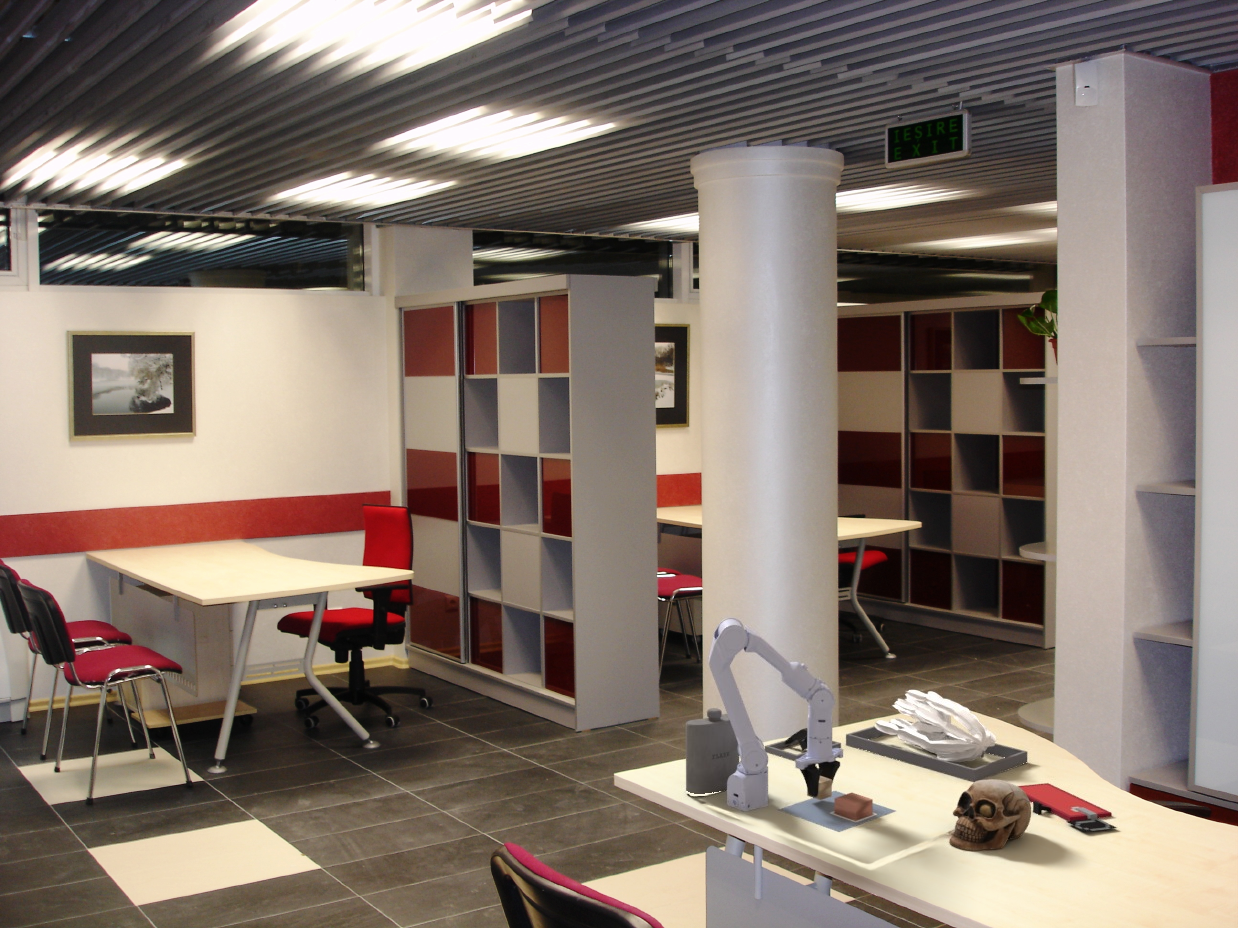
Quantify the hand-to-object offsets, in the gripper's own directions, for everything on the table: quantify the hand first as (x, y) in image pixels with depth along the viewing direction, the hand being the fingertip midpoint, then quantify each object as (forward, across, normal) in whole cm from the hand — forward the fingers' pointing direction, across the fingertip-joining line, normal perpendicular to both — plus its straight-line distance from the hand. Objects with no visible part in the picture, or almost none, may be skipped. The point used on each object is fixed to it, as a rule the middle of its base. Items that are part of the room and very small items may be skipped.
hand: (819, 793), depth 272 cm
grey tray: (+3, +54, +7) cm, 55 cm away
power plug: (+4, +29, +33) cm, 44 cm away
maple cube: (+1, 0, 0) cm, 1 cm away
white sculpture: (+3, +55, +7) cm, 55 cm away
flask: (+3, -11, +24) cm, 27 cm away
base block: (+2, 0, -10) cm, 10 cm away
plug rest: (+3, +30, +32) cm, 44 cm away
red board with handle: (+4, +41, -37) cm, 56 cm away
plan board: (+3, -1, -6) cm, 7 cm away
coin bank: (+3, +13, -37) cm, 39 cm away
